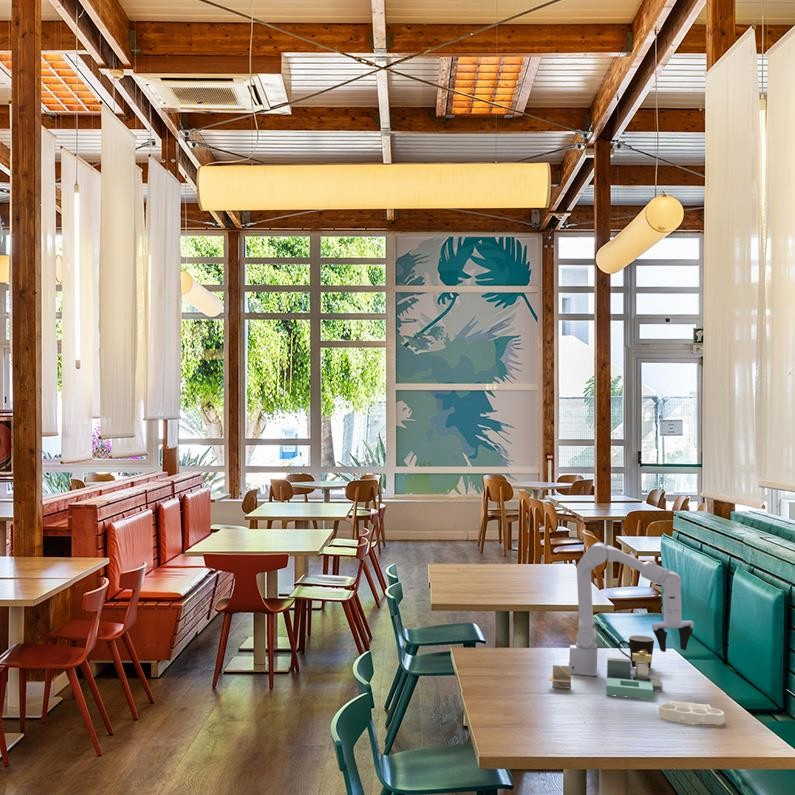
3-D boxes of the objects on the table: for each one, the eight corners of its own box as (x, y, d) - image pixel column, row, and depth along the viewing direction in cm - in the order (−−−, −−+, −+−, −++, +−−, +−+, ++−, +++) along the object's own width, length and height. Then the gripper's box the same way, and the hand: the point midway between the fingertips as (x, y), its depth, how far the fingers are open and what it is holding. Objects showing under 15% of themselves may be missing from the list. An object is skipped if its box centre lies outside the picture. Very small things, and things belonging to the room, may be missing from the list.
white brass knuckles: (720, 714, 264) (726, 730, 250) (657, 708, 269) (659, 723, 255) (721, 703, 264) (726, 718, 250) (657, 696, 269) (659, 711, 255)
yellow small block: (632, 660, 291) (632, 651, 291) (632, 659, 294) (632, 649, 294) (651, 662, 290) (651, 653, 290) (651, 660, 292) (651, 651, 292)
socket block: (606, 686, 288) (607, 663, 289) (607, 676, 300) (607, 654, 300) (661, 691, 284) (661, 668, 285) (659, 680, 296) (660, 658, 296)
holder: (606, 695, 279) (606, 685, 279) (606, 687, 287) (607, 677, 288) (653, 699, 275) (653, 689, 275) (651, 691, 284) (652, 681, 284)
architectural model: (571, 692, 282) (571, 669, 282) (549, 691, 283) (549, 667, 283) (570, 689, 286) (570, 666, 286) (548, 688, 286) (549, 664, 287)
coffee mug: (656, 666, 314) (657, 637, 314) (649, 671, 306) (650, 642, 307) (624, 660, 320) (624, 632, 320) (616, 666, 313) (617, 637, 313)
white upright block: (635, 685, 290) (635, 663, 290) (635, 682, 294) (635, 660, 294) (648, 686, 289) (648, 664, 289) (647, 683, 293) (648, 661, 293)
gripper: (659, 612, 290) (660, 654, 290) (698, 610, 294) (699, 651, 293) (648, 608, 297) (648, 649, 296) (686, 606, 301) (687, 646, 300)
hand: (673, 650), depth 295 cm, fingers open, 7 cm apart
